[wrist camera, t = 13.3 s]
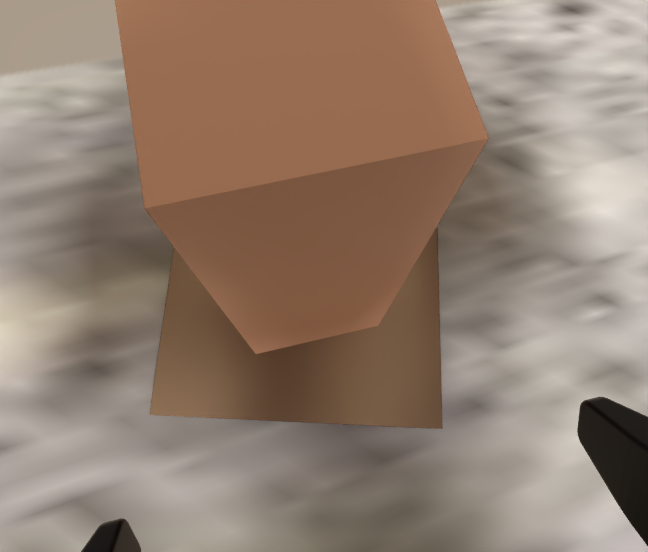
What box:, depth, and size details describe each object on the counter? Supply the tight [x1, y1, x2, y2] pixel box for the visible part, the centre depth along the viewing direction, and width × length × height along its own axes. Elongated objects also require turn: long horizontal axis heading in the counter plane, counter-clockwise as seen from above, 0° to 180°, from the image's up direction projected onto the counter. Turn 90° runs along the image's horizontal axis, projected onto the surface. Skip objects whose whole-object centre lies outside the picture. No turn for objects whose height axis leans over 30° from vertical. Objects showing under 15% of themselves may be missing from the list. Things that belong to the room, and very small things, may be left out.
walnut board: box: [150, 227, 442, 429], centre depth 19 cm, size 10×10×1 cm
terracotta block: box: [115, 0, 489, 354], centre depth 13 cm, size 4×4×12 cm
